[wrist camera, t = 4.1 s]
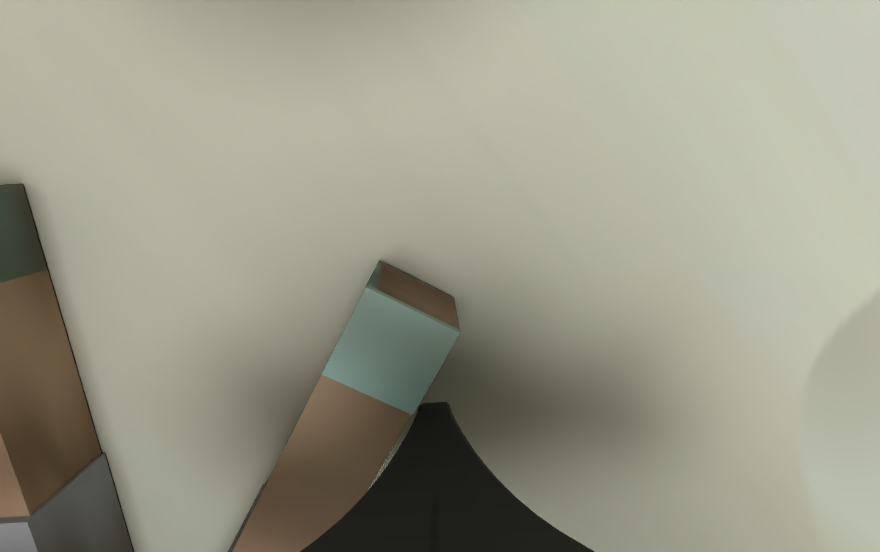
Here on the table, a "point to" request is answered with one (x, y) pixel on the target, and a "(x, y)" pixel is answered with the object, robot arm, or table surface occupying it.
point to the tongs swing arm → (354, 412)
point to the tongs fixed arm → (45, 412)
